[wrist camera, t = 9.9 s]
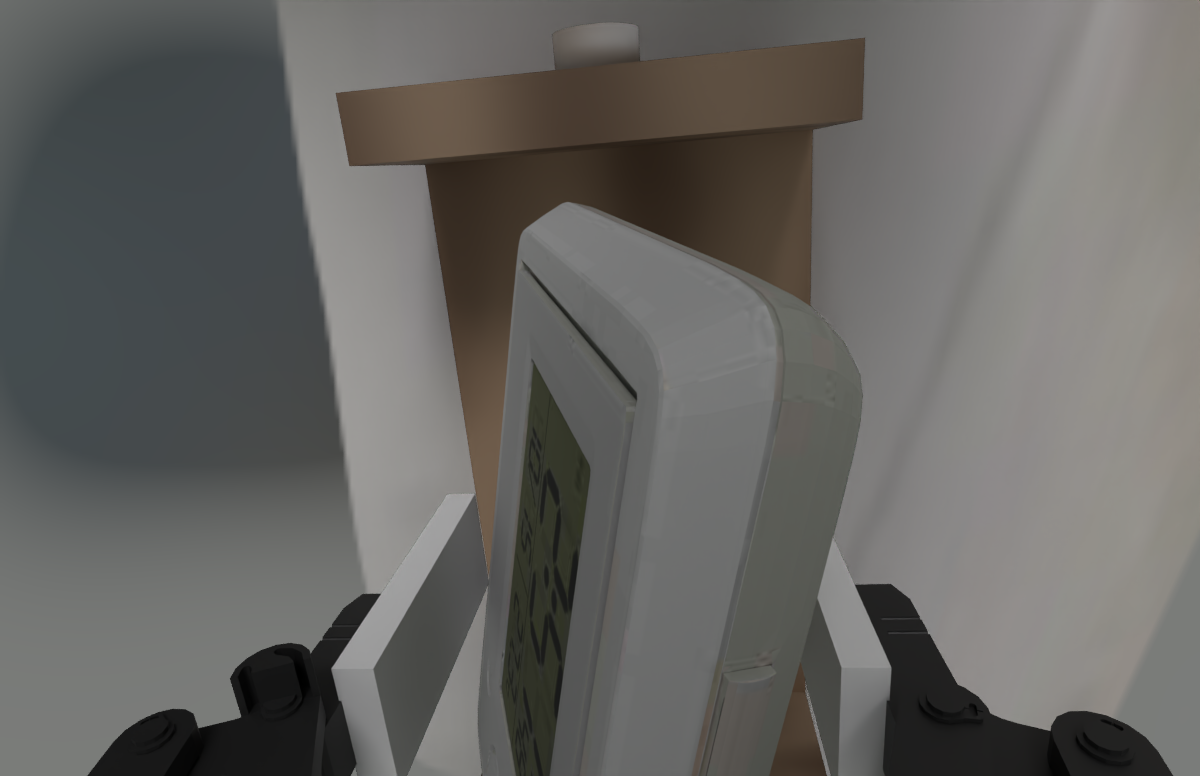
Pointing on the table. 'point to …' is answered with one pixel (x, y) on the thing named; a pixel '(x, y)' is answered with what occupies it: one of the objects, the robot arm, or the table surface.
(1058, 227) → the table surface
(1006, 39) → the table surface
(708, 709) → the digital clock
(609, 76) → the walnut holder
